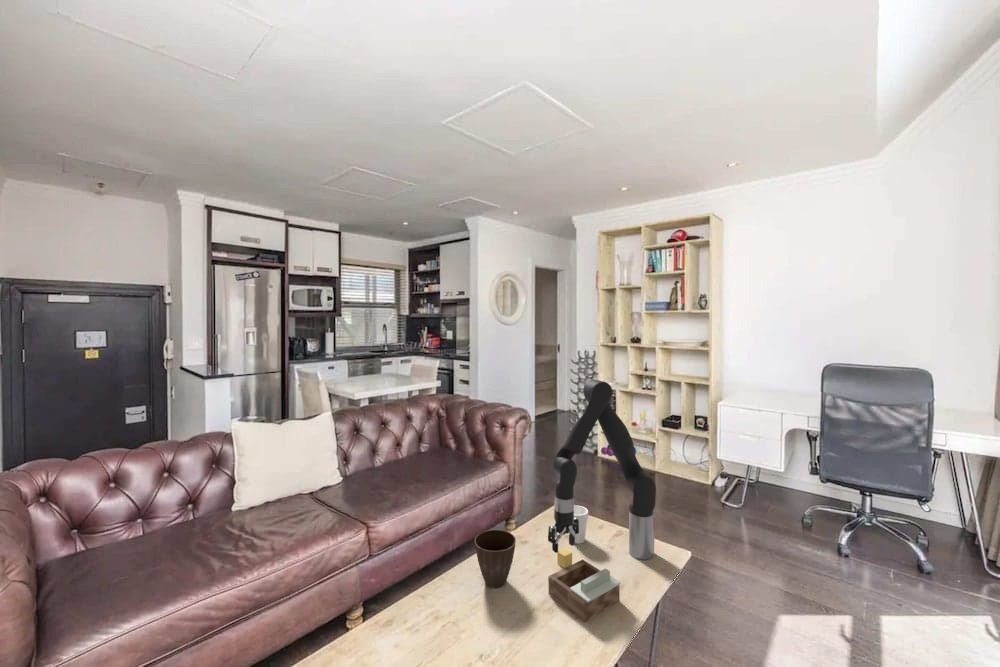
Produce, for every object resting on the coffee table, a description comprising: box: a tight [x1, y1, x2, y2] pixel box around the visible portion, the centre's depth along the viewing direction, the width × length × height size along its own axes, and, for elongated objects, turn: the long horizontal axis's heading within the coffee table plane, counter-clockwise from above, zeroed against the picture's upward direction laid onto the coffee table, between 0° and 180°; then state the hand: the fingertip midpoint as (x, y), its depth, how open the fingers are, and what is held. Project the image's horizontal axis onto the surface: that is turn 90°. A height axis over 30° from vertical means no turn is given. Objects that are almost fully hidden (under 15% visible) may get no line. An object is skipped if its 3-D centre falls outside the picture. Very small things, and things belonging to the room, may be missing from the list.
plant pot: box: [474, 529, 517, 589], centre depth 158 cm, size 15×15×16 cm
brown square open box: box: [548, 559, 620, 623], centre depth 149 cm, size 17×17×6 cm
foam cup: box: [568, 504, 589, 545], centre depth 186 cm, size 10×9×13 cm
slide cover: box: [570, 568, 622, 602], centre depth 144 cm, size 16×8×4 cm, turn 125°
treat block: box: [556, 547, 573, 569], centre depth 169 cm, size 4×4×5 cm
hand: (563, 548), depth 168 cm, fingers open, 8 cm apart
